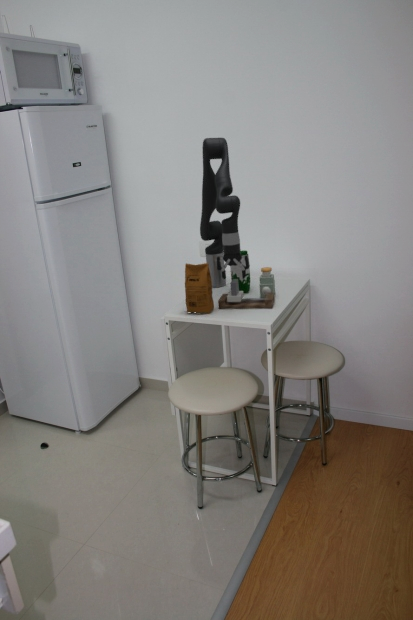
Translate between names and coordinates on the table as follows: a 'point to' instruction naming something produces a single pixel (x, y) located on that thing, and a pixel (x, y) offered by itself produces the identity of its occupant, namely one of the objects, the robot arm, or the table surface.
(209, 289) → the coffee package
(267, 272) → the button
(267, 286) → the cabinet
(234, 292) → the carriage
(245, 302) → the rail bed
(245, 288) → the milk carton
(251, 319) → the table surface
